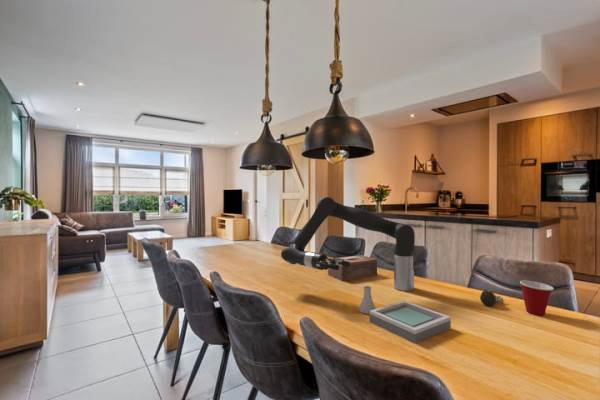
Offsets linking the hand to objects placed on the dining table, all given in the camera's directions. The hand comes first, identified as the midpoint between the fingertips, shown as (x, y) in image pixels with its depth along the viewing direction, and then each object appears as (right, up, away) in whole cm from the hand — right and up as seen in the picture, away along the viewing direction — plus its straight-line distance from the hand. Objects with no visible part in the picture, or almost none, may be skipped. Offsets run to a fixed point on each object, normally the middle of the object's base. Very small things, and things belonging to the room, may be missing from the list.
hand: (344, 266), depth 131 cm
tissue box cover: (+12, -17, +50) cm, 54 cm away
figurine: (+66, -17, +2) cm, 68 cm away
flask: (+8, -17, -7) cm, 21 cm away
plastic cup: (+76, -17, -11) cm, 78 cm away
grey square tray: (+21, -17, -21) cm, 34 cm away
